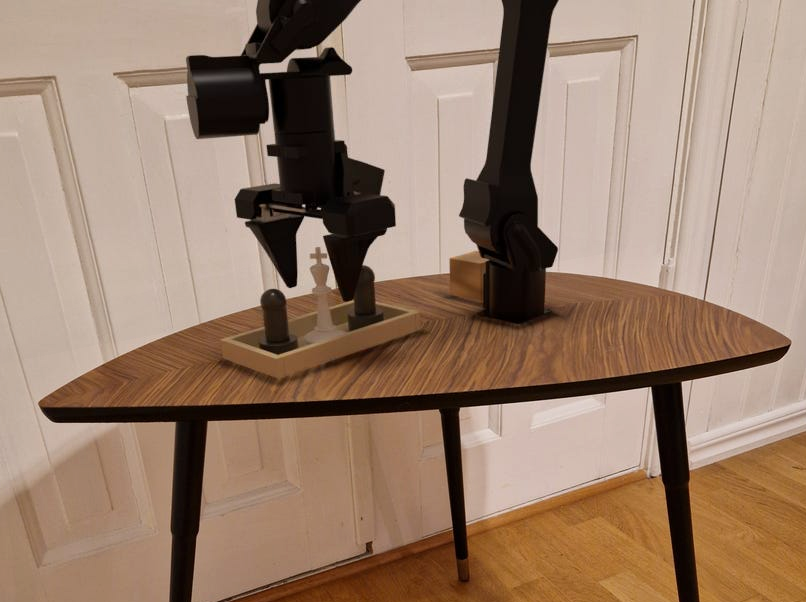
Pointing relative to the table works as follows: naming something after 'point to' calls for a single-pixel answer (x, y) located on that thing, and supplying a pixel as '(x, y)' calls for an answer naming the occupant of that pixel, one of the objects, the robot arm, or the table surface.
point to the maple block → (467, 275)
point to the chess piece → (321, 302)
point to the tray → (305, 357)
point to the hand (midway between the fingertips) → (319, 293)
